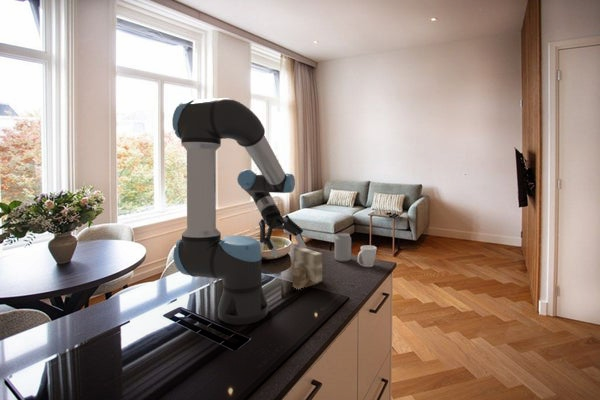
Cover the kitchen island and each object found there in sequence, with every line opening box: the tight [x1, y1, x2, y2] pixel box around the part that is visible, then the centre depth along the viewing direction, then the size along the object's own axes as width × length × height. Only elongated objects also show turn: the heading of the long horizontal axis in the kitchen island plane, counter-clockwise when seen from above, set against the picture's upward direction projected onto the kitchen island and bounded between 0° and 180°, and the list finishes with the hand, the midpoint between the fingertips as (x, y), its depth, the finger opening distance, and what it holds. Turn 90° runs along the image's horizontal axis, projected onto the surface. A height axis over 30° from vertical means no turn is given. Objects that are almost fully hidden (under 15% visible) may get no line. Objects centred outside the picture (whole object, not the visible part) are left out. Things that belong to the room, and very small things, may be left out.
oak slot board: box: [292, 267, 323, 291], centre depth 125 cm, size 12×3×7 cm, turn 131°
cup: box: [356, 244, 378, 268], centre depth 145 cm, size 7×10×8 cm
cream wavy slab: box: [293, 246, 323, 283], centre depth 124 cm, size 12×3×10 cm, turn 41°
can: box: [334, 232, 352, 263], centre depth 153 cm, size 8×8×12 cm
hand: (291, 252), depth 131 cm, fingers open, 13 cm apart
